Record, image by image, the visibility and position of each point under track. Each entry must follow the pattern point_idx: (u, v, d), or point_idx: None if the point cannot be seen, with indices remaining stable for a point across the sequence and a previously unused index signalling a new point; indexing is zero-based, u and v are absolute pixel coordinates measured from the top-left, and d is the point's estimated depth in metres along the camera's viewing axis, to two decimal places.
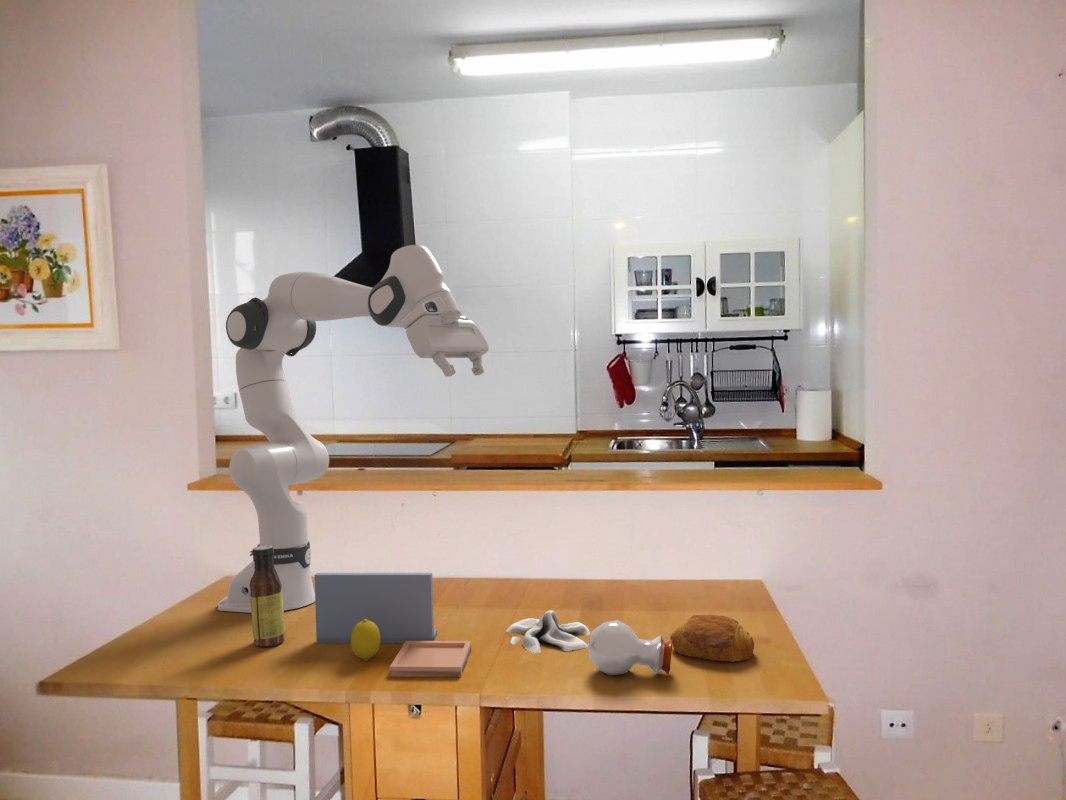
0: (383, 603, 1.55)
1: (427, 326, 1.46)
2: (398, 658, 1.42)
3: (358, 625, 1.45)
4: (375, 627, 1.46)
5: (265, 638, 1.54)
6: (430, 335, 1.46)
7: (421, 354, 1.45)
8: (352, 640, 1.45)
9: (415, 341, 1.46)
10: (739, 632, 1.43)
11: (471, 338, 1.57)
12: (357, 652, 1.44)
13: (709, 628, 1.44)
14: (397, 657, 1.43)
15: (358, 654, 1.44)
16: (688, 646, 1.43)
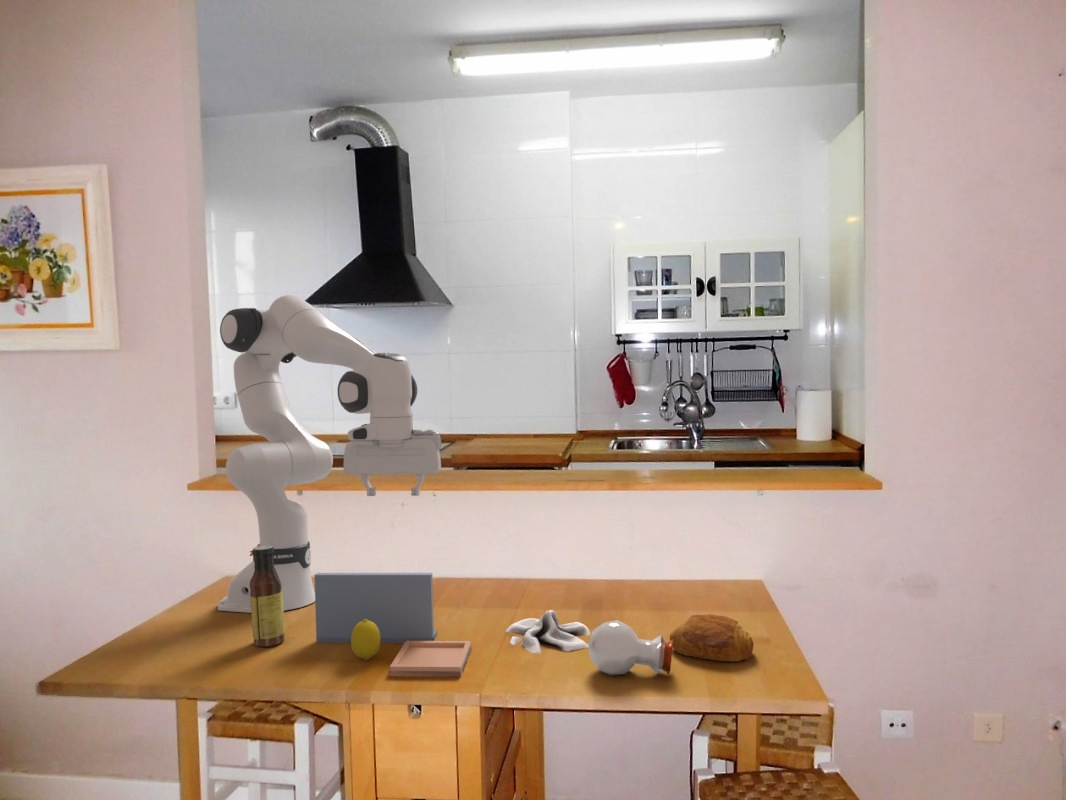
0: (383, 603, 1.55)
1: (351, 451, 1.59)
2: (398, 658, 1.42)
3: (358, 625, 1.45)
4: (375, 627, 1.46)
5: (265, 638, 1.54)
6: (352, 460, 1.59)
7: None
8: (352, 640, 1.45)
9: None
10: (738, 632, 1.43)
11: (413, 461, 1.59)
12: (357, 652, 1.44)
13: (708, 628, 1.44)
14: (397, 657, 1.43)
15: (358, 654, 1.44)
16: (687, 645, 1.43)
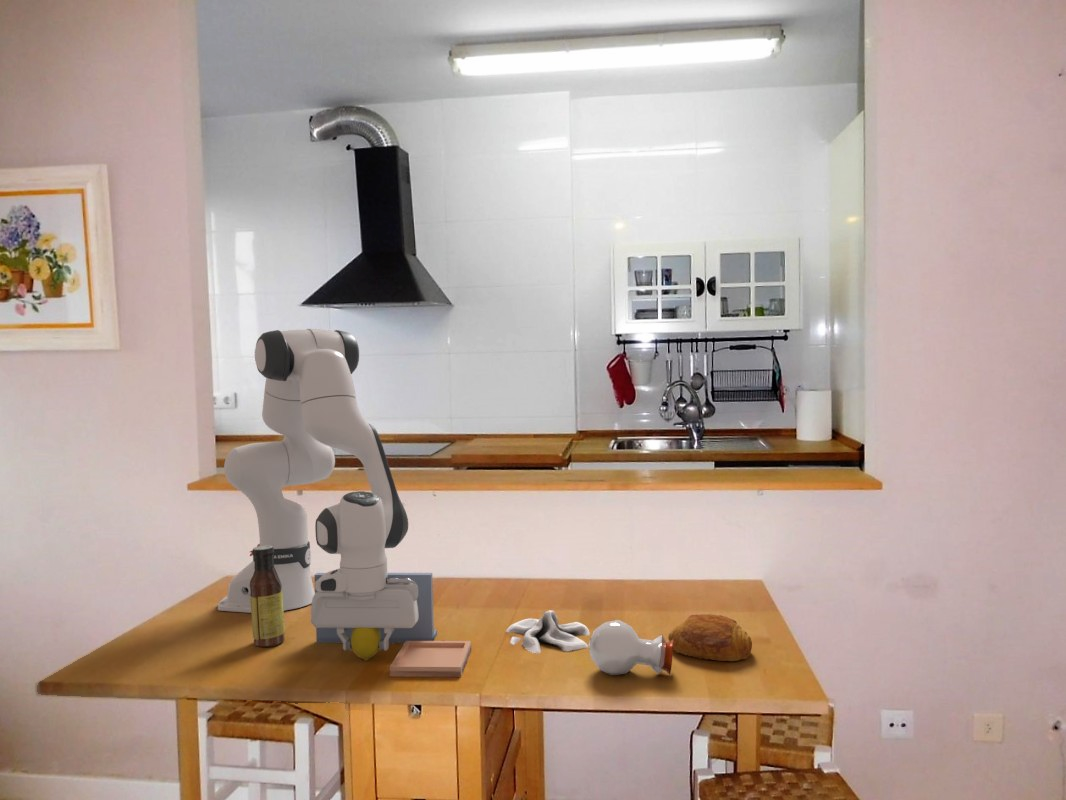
0: None
1: (319, 603, 1.44)
2: (398, 658, 1.42)
3: None
4: None
5: (265, 638, 1.54)
6: (320, 612, 1.45)
7: None
8: (352, 640, 1.45)
9: None
10: (737, 632, 1.44)
11: (387, 614, 1.44)
12: (357, 652, 1.44)
13: (706, 628, 1.44)
14: (397, 657, 1.43)
15: (358, 654, 1.44)
16: (686, 645, 1.44)
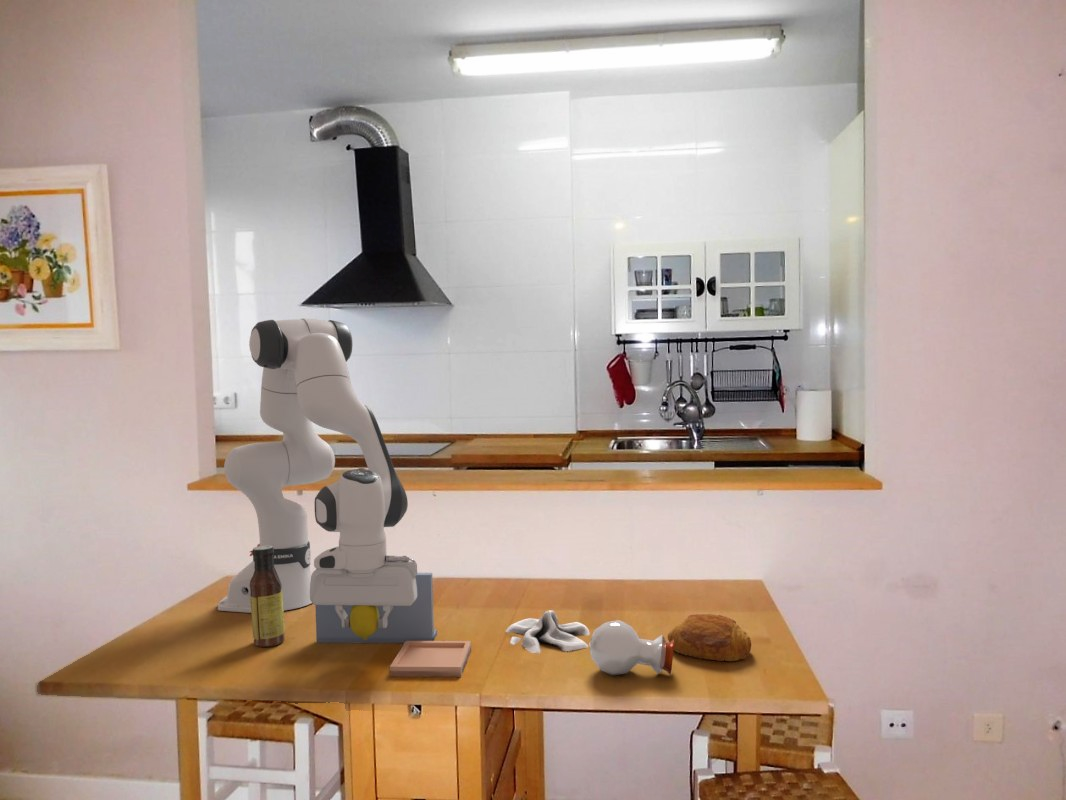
0: None
1: (318, 580, 1.44)
2: (398, 658, 1.42)
3: None
4: (374, 606, 1.46)
5: (265, 638, 1.54)
6: (319, 589, 1.45)
7: None
8: (351, 619, 1.45)
9: None
10: (736, 632, 1.44)
11: (386, 591, 1.44)
12: (356, 631, 1.44)
13: (706, 628, 1.44)
14: (397, 657, 1.43)
15: (357, 633, 1.44)
16: (685, 645, 1.44)
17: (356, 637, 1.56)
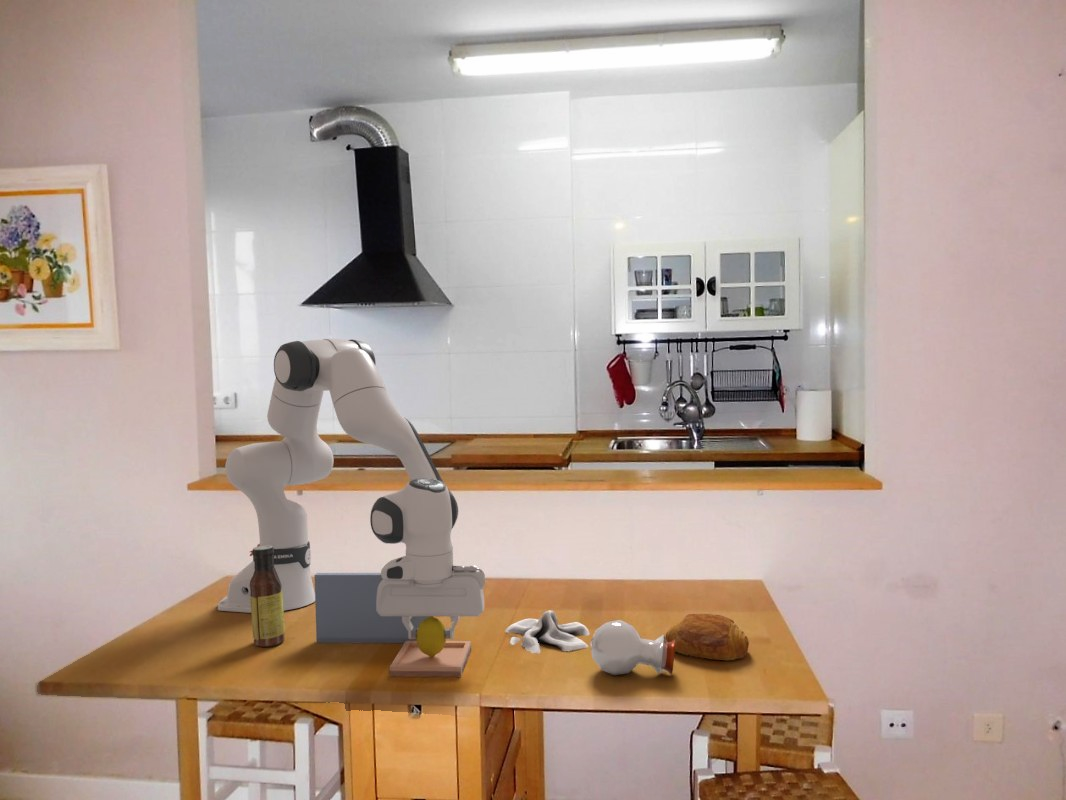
0: None
1: (385, 591, 1.42)
2: (398, 658, 1.42)
3: (424, 622, 1.43)
4: (441, 624, 1.44)
5: (265, 638, 1.54)
6: (386, 600, 1.43)
7: None
8: (418, 637, 1.43)
9: None
10: (733, 631, 1.44)
11: (454, 602, 1.42)
12: (424, 649, 1.42)
13: (703, 627, 1.44)
14: (397, 657, 1.43)
15: (424, 651, 1.42)
16: (682, 644, 1.44)
17: (356, 637, 1.56)
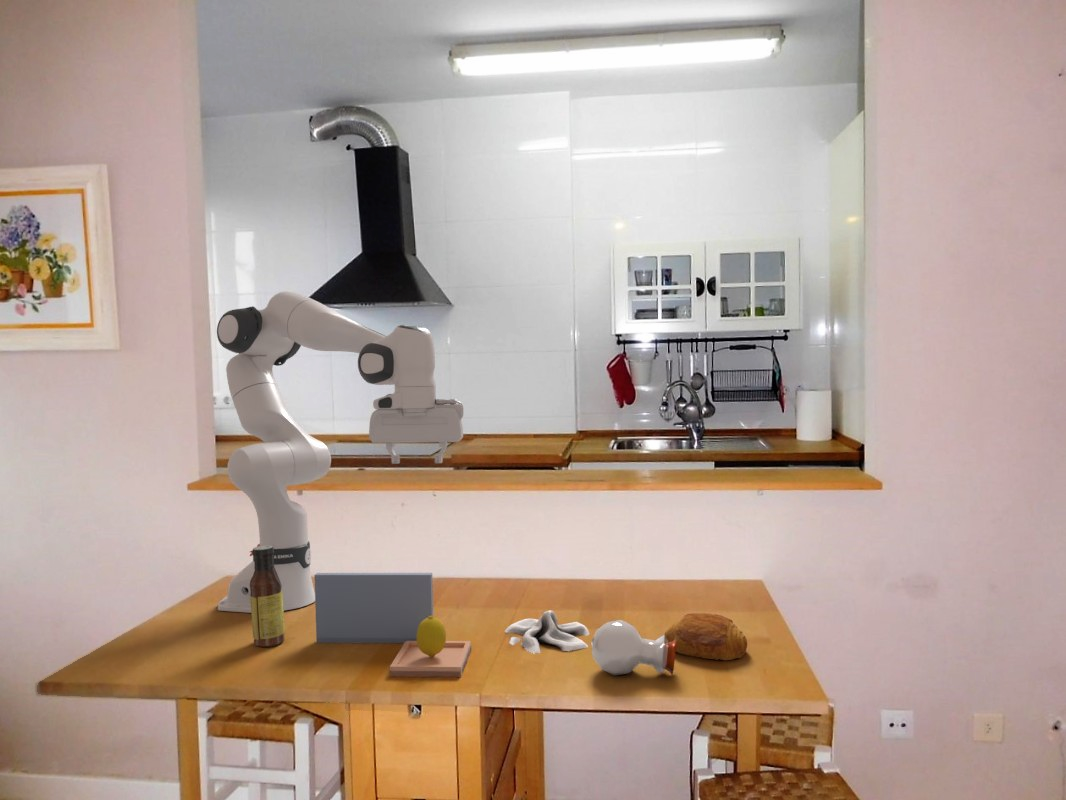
0: (383, 603, 1.55)
1: (377, 420, 1.64)
2: (398, 658, 1.42)
3: (424, 622, 1.43)
4: (441, 624, 1.44)
5: (265, 638, 1.54)
6: (377, 428, 1.65)
7: None
8: (418, 637, 1.43)
9: None
10: (732, 631, 1.44)
11: (437, 429, 1.64)
12: (424, 649, 1.42)
13: (701, 627, 1.45)
14: (397, 657, 1.43)
15: (424, 651, 1.42)
16: (681, 644, 1.44)
17: (356, 637, 1.56)
